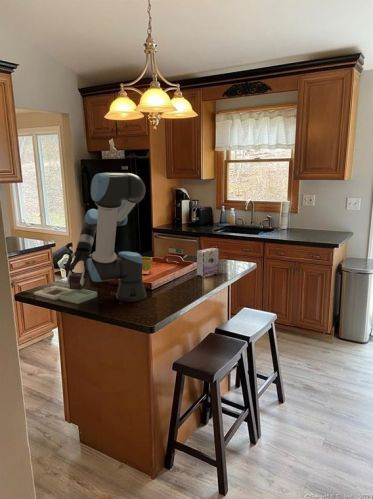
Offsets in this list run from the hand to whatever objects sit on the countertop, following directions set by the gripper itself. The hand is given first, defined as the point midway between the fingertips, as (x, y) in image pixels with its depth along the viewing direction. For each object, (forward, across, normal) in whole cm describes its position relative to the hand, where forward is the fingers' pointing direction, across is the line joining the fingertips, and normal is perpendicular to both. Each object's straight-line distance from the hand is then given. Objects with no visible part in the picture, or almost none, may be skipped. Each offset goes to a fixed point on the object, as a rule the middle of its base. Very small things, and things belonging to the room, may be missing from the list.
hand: (74, 283), depth 186 cm
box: (0, 0, -5) cm, 5 cm away
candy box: (-31, -63, -44) cm, 83 cm away
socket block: (0, +15, -12) cm, 19 cm away
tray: (+4, 0, -8) cm, 9 cm away
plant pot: (-31, -24, -44) cm, 59 cm away
